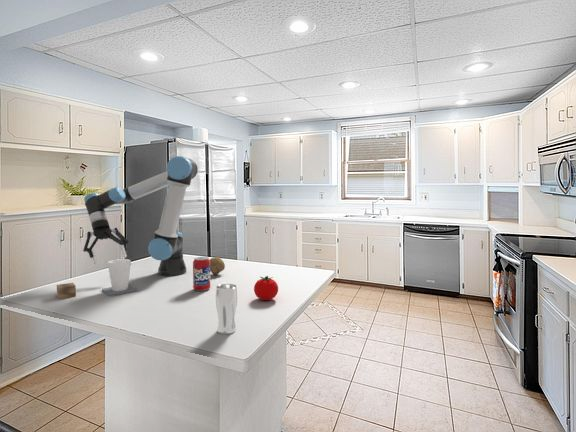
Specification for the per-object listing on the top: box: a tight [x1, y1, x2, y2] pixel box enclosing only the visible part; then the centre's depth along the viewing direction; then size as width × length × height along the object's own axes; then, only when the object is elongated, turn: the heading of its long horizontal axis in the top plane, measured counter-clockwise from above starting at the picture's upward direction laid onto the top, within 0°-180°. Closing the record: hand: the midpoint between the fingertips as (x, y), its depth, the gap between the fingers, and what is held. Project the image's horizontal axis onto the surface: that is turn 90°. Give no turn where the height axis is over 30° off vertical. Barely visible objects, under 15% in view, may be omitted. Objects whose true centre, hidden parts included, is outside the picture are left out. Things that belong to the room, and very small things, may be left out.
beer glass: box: [215, 283, 238, 335], centre depth 111 cm, size 7×7×15 cm
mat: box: [101, 283, 139, 297], centre depth 154 cm, size 12×12×1 cm
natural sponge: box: [209, 256, 226, 276], centre depth 184 cm, size 9×9×10 cm
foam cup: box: [107, 258, 132, 291], centre depth 153 cm, size 10×9×13 cm
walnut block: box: [56, 282, 77, 300], centre depth 145 cm, size 6×6×5 cm
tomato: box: [253, 275, 279, 301], centre depth 143 cm, size 10×10×10 cm
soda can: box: [192, 256, 211, 292], centre depth 156 cm, size 8×8×15 cm
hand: (111, 260), depth 164 cm, fingers open, 13 cm apart
